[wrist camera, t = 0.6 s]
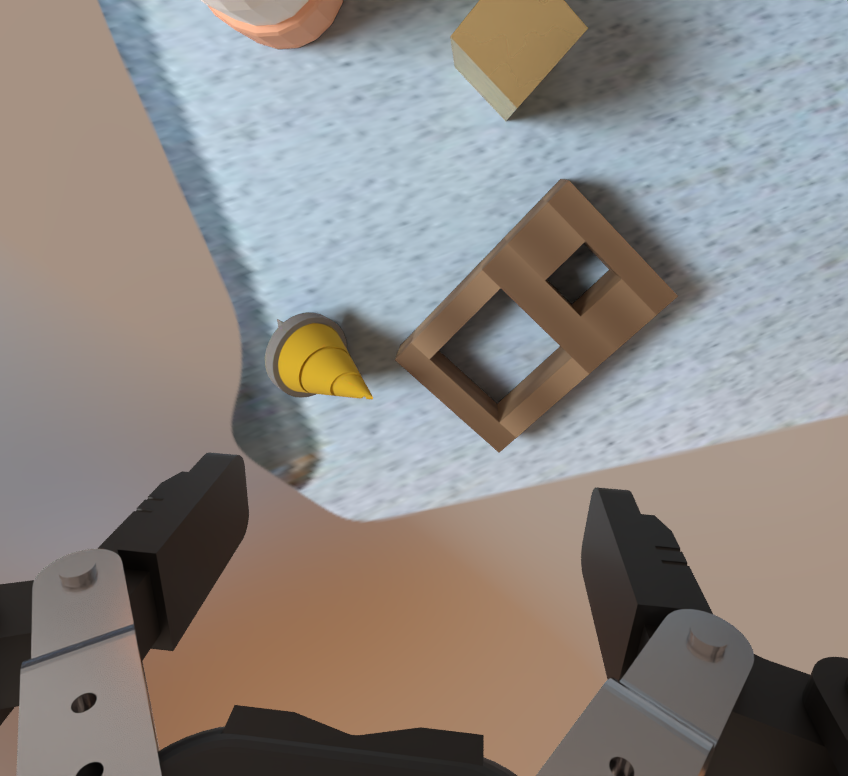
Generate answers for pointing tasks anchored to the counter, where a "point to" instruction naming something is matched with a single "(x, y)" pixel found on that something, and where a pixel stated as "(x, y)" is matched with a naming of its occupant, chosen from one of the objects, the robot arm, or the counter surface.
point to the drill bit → (312, 359)
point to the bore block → (540, 313)
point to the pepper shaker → (277, 19)
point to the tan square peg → (513, 47)
